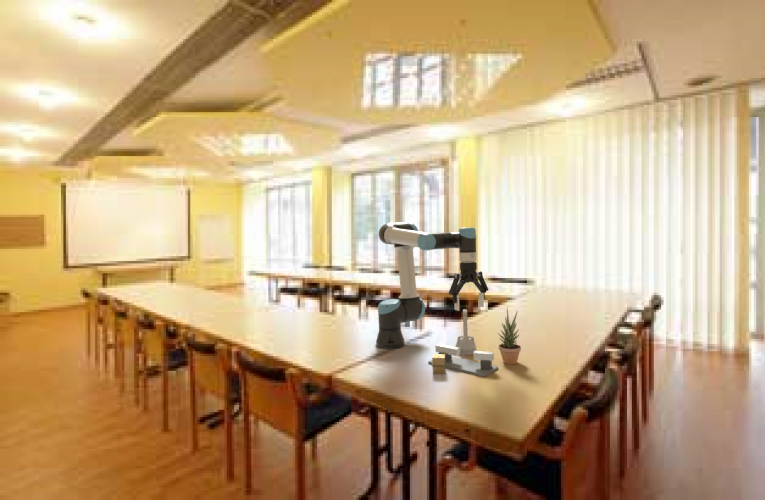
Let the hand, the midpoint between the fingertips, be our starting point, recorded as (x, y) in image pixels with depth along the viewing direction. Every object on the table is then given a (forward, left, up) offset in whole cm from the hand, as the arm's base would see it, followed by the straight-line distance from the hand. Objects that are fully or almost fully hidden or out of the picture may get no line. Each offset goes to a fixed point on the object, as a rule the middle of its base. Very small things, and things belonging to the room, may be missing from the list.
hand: (469, 308), depth 186 cm
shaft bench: (+1, -8, -24) cm, 26 cm away
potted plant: (+15, +9, -24) cm, 30 cm away
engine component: (-9, +12, -24) cm, 28 cm away
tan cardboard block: (-3, -20, -24) cm, 32 cm away
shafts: (+1, -7, -20) cm, 21 cm away
